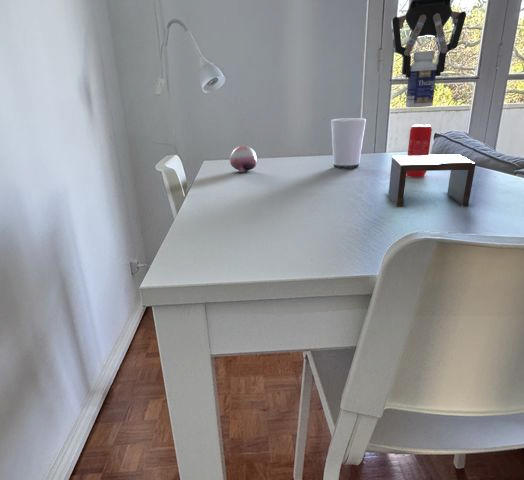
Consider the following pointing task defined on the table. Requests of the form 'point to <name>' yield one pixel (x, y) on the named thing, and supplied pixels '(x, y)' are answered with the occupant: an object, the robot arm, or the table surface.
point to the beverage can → (419, 145)
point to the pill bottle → (421, 80)
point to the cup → (347, 141)
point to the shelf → (456, 163)
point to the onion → (243, 158)
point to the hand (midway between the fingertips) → (422, 76)
